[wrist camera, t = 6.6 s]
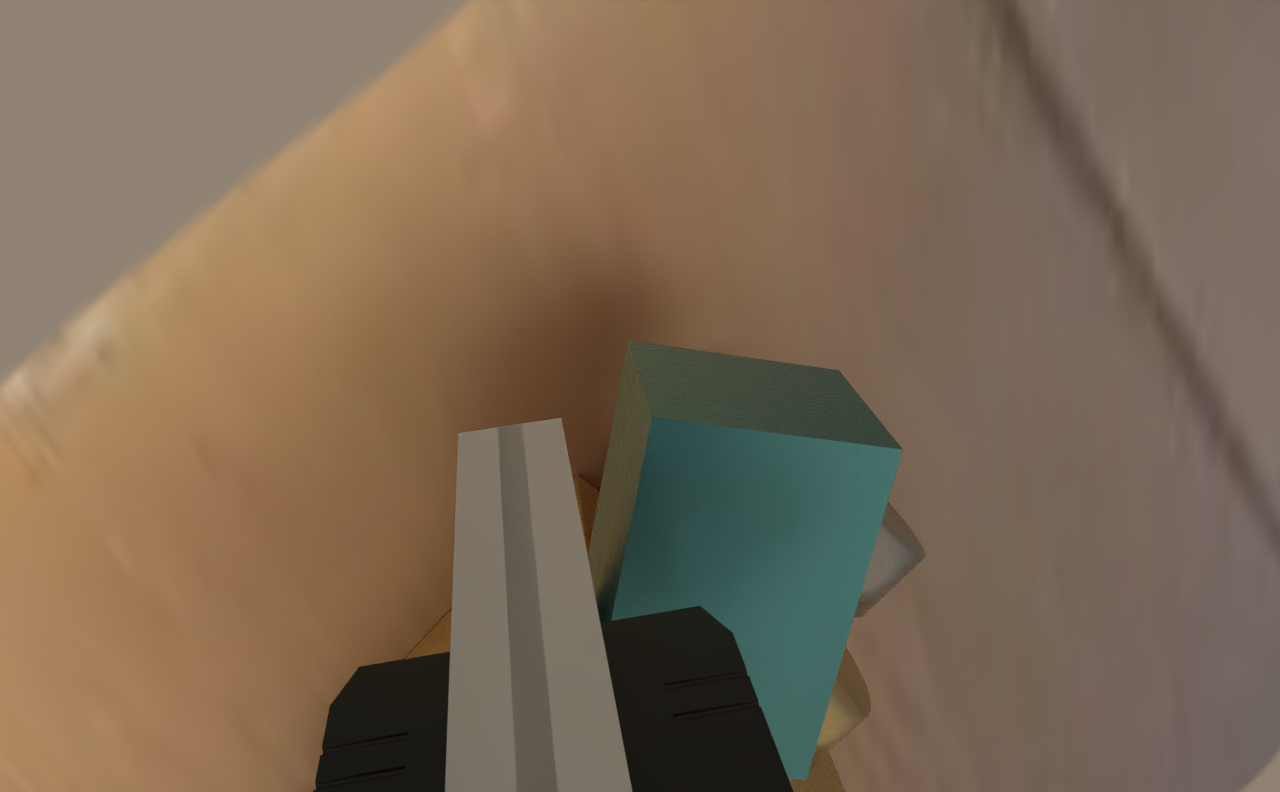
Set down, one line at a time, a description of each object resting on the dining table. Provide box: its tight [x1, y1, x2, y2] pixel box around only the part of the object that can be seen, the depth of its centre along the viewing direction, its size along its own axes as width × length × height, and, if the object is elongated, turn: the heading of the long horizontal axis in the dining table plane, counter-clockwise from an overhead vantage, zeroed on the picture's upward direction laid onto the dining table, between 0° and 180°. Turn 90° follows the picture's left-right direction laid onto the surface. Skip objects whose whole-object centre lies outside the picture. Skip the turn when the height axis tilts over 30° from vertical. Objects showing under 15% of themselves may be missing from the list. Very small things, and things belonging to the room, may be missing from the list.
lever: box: [588, 341, 903, 780], centre depth 15 cm, size 12×4×2 cm, turn 170°
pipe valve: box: [405, 475, 925, 792], centre depth 21 cm, size 15×6×8 cm, turn 138°
